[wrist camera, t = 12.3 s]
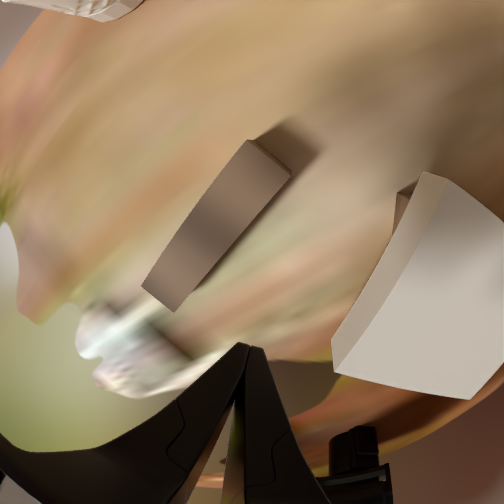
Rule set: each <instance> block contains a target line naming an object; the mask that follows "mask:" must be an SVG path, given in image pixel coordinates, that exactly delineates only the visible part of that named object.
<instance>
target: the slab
mask: <svg viewBox="0 0 504 504" xmlns="http://www.w3.org/2000/svg"><path fill="white" fill-rule="evenodd" d="M331 346H332V355H333V365H334V372H337V373H340V374H344V375H348V376H351V377H355V378H359V379H363V380H367V381H371V382H375V383H380V384H384V385H388V386H393V387H397V388H402V389H407V390H412V391H417V392H423V393H428V394H434V395H440V396H446V397H453V398H460V399H467V400H470V399H471V398H472V397H473V396H474V395H475V394H476V393H477V392H478V391H479V390H480V389H481V388H482V386H483V385H484V384H485V383H486V382H487V381H488V380H489V379H490V378H491V377H492V375H493V374H494V373H495V372H496V371H497V370H498V368H499V367H500V366H501V365H502V364H503V362H504V222H503V221H501V220H500V219H499V218H498V217H497V216H496V215H494V214H493V213H492V212H491V211H490V210H489V209H487V208H486V207H485V206H484V205H482V204H481V203H480V202H479V201H477V200H476V199H475V198H474V197H472V196H471V195H470V194H468V193H467V192H466V191H464V190H463V189H462V188H460V187H459V186H458V185H456V184H455V183H453V182H452V181H451V180H449V179H447V178H444V177H441V176H437V175H434V174H431V173H428V172H424V171H422V173H421V176H420V178H419V180H418V183H417V185H416V187H415V190H414V192H413V194H412V197H411V199H410V201H409V203H408V205H407V208H406V210H405V212H404V214H403V216H402V218H401V220H400V222H399V224H398V226H397V228H396V230H395V232H394V234H393V236H392V238H391V240H390V242H389V244H388V246H387V248H386V250H385V252H384V253H383V255H382V257H381V259H380V261H379V263H378V264H377V266H376V268H375V270H374V272H373V273H372V275H371V277H370V279H369V280H368V282H367V284H366V285H365V287H364V289H363V290H362V292H361V294H360V295H359V297H358V299H357V300H356V302H355V304H354V305H353V307H352V308H351V310H350V312H349V313H348V315H347V316H346V318H345V319H344V321H343V322H342V324H341V325H340V327H339V328H338V330H337V331H336V333H335V334H334V336H333V337H332V339H331Z"/></svg>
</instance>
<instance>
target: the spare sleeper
mask: <svg viewBox="0 0 504 504" xmlns="http://www.w3.org/2000/svg"><path fill="white" fill-rule="evenodd" d="M291 173H292V171H291V170H290V169H288V168H287V167H286V166H285V165H284V164H282V163H281V162H280V161H279V160H278V159H276V158H275V157H274V156H273V155H272V154H270V153H269V152H268V151H267V150H265V149H264V148H263V147H262V146H260V145H259V144H258V143H257V142H255V141H254V140H246V141H245V142H244V143H243V145H242V146H241V147H240V148H239V150H238V151H237V152H236V153H235V155H234V156H233V157H232V158H231V160H230V161H229V162H228V163H227V165H226V166H225V167H224V168H223V170H222V171H221V172H220V174H219V175H218V176H217V177H216V179H215V180H214V181H213V183H212V184H211V185H210V187H209V188H208V189H207V191H206V192H205V193H204V195H203V196H202V197H201V199H200V200H199V201H198V203H197V204H196V206H195V207H194V208H193V210H192V211H191V212H190V214H189V215H188V217H187V218H186V219H185V221H184V222H183V224H182V225H181V227H180V228H179V229H178V231H177V232H176V234H175V235H174V237H173V238H172V239H171V241H170V242H169V244H168V245H167V247H166V248H165V250H164V251H163V253H162V254H161V256H160V257H159V259H158V260H157V262H156V263H155V265H154V266H153V268H152V269H151V271H150V273H149V274H148V276H147V277H146V279H145V280H144V282H143V283H142V285H141V286H142V287H143V288H144V289H145V290H146V291H148V292H149V293H150V294H151V295H152V296H154V297H155V298H156V299H157V300H159V301H160V302H161V303H162V304H164V305H165V306H166V307H167V308H169V309H170V310H171V311H172V312H175V311H176V310H177V309H178V308H179V306H180V305H181V304H182V303H183V302H184V300H185V299H186V298H187V297H188V295H189V294H190V293H191V292H192V291H193V289H194V288H195V287H196V286H197V285H198V284H199V282H200V281H201V280H202V279H203V278H204V276H205V275H206V274H207V273H208V272H209V270H210V269H211V268H212V267H213V266H214V264H215V263H216V262H217V261H218V260H219V259H220V257H221V256H222V255H223V254H224V253H225V252H226V250H227V249H228V248H229V247H230V246H231V244H232V243H233V242H234V241H235V240H236V239H237V237H238V236H239V235H240V234H241V233H242V232H243V230H244V229H245V228H246V227H247V226H248V225H249V224H250V222H251V221H252V220H253V219H254V218H255V217H256V215H257V214H258V213H259V212H260V211H261V210H262V209H263V207H264V206H265V205H266V204H267V203H268V202H269V201H270V199H271V198H272V197H273V196H274V195H275V194H276V193H277V191H278V190H279V189H280V188H281V187H282V186H283V185H284V183H285V182H286V181H287V180H288V179H289V178H290V177H291Z"/></svg>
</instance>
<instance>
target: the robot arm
mask: <svg viewBox="0 0 504 504" xmlns="http://www.w3.org/2000/svg"><path fill="white" fill-rule="evenodd" d="M234 401H235V402H234ZM233 404H234V406H233ZM232 406H233V413H232V421H231V428H230V436H229V443H228V451H227V458H226V466H225V473H224V481H223V488H222V496H221V504H393V494H392V484H391V476H390V468H389V463H386V464H384V465H381V466H379V457H378V454H379V450H378V442H377V435H376V428H375V427H367V426H355V427H354V428H352V429H350V430H349V431H348V432H345V433H341V434H339V435H337V436H335V437H333V438H332V439H331V440H330V441H329V476H327V477H315V476H314V474H313V473H312V471H311V469H310V467H309V465H308V464H307V462H306V460H305V458H304V456H303V454H302V452H301V449H300V447H299V445H298V442H297V440H296V437H295V435H294V432H293V430H291V429H292V427H291V424H290V422H289V419H288V416H287V413H286V411H285V408H284V405H283V403H282V400H281V397H280V394H279V392H278V389H277V386H276V383H275V381H274V378H273V375H272V372H271V369H270V367H269V364H268V361H267V358H266V355H265V352H264V350H263V348H260V347H256V346H250V345H248V344H245V343H241V342H238V343H236V344H235V345H234V346H233V347H232V348H231V349H230V350H229V351H228V352H227V353H226V354H224V355H223V356H222V357H221V358H220V359H219V360H218V361H217V362H216V363H215V364H214V365H212V366H211V367H210V368H209V369H208V370H207V371H206V372H205V373H204V374H203V375H201V376H200V377H199V378H198V379H197V380H196V381H195V382H194V383H192V384H191V385H190V386H189V387H188V388H187V389H186V390H184V391H183V392H182V393H181V394H180V395H179V396H178V397H176V400H173V401H171V402H170V403H169V404H168V405H167V406H166V407H164V408H163V409H162V410H161V411H159V412H158V413H157V414H155V415H154V416H152V417H151V418H149V419H148V420H146V421H145V422H143V423H142V424H140V425H138V426H136V427H135V428H133V429H132V430H129V431H128V432H126V433H124V434H122V435H121V436H119V437H117V438H115V439H113V440H112V441H110V442H108V443H106V444H104V445H101V446H98V447H95V448H91V449H85V450H73V451H60V452H29V451H25V450H22V449H20V448H17V447H16V446H14V445H13V444H12V443H11V442H10V441H8V440H7V439H6V438H5V437H4V436H3V435H2V434H1V433H0V504H186V503H187V501H188V500H189V497H190V496H191V494H192V492H193V490H194V488H195V486H196V484H197V482H198V480H199V478H200V476H201V474H202V471H203V469H204V467H205V465H206V463H207V461H208V459H209V457H210V455H211V452H212V450H213V448H214V446H215V444H216V442H217V440H218V438H219V436H220V433H221V431H222V429H223V427H224V425H225V422H226V420H227V418H228V416H229V413H230V411H231V409H232ZM385 479H386V481H381V480H385Z"/></svg>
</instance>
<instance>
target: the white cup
mask: <svg viewBox="0 0 504 504" xmlns="http://www.w3.org/2000/svg"><path fill="white" fill-rule="evenodd" d="M2 1H3V2H6V3H15V4H22V5H28V6H34V7H39V8H43V9H47V10H53V11H59V12H62V13H66V14H72V15H75V16H83V17H88V18H91V19H94V20H97V21H100V22H107V21H111V20H116V19H118V18H120V17H122V16H124V15H125V14H127V13H129V12H131V11H132V10H134V9H135V8H136V7H137V6H138V5H139V4H140V3H141V2H142V1H143V0H2Z"/></svg>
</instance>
